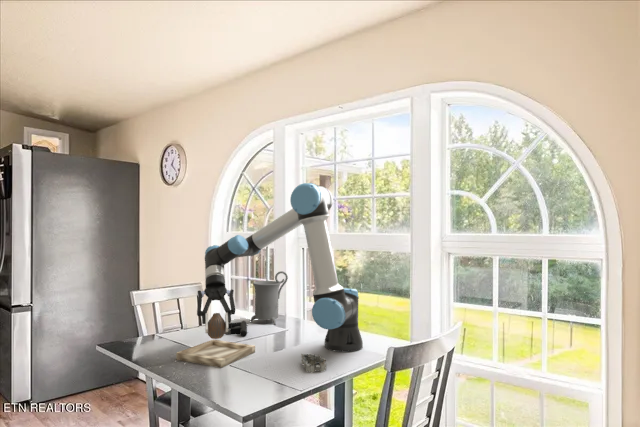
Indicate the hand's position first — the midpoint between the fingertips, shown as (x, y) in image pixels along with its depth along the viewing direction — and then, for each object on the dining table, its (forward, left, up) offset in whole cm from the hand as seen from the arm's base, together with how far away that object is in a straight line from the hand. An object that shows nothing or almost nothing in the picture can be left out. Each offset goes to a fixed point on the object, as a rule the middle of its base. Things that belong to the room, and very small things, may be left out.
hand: (217, 330), depth 157 cm
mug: (+15, -59, -10) cm, 61 cm away
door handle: (+19, -34, -11) cm, 41 cm away
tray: (+2, -3, -10) cm, 11 cm away
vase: (+2, -3, -4) cm, 5 cm away
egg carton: (-35, -7, -11) cm, 37 cm away
